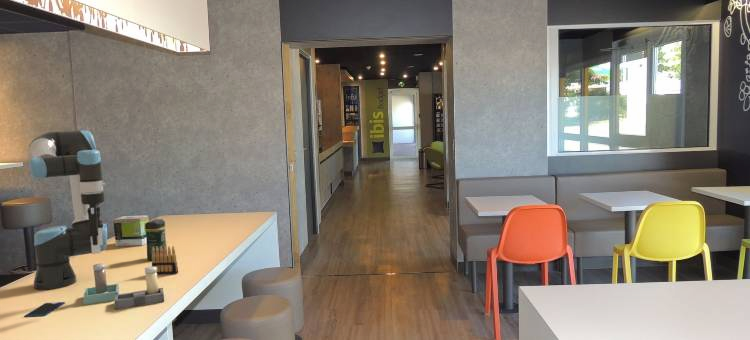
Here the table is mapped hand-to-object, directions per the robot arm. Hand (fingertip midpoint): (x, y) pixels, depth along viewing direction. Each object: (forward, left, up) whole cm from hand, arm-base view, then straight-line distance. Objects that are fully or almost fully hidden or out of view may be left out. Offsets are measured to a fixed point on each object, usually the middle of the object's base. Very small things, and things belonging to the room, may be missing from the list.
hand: (97, 249), depth 207 cm
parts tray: (0, 0, -18) cm, 18 cm away
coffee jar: (+21, +54, -19) cm, 60 cm away
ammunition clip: (+23, +23, -19) cm, 37 cm away
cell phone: (-18, -4, -19) cm, 27 cm away
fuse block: (+13, -13, -18) cm, 26 cm away
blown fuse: (0, 0, -18) cm, 18 cm away
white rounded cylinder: (+18, -13, -19) cm, 29 cm away
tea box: (+10, +96, -19) cm, 98 cm away
